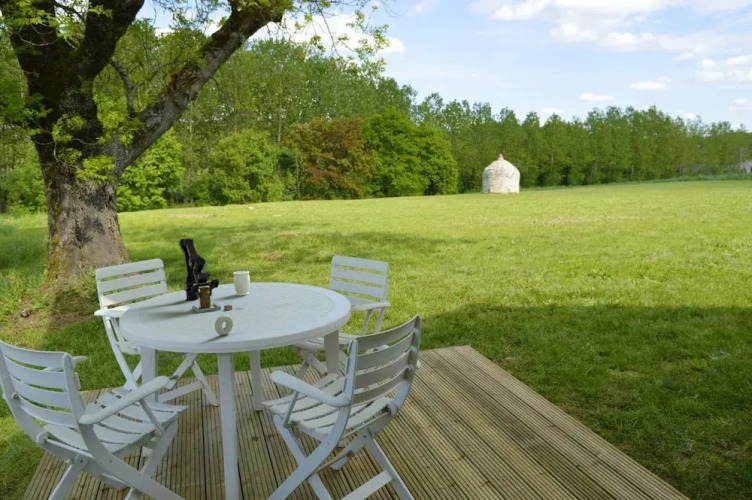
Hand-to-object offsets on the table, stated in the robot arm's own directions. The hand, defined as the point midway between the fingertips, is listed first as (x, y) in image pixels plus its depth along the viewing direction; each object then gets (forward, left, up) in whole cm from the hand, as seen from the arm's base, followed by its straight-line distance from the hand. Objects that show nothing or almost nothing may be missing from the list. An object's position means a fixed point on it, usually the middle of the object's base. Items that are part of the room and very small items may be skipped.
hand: (205, 296), depth 323 cm
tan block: (+13, 0, -8) cm, 15 cm away
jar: (+6, +41, -8) cm, 42 cm away
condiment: (-1, +1, -7) cm, 7 cm away
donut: (+32, -51, -8) cm, 61 cm away
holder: (-1, +1, -8) cm, 8 cm away
